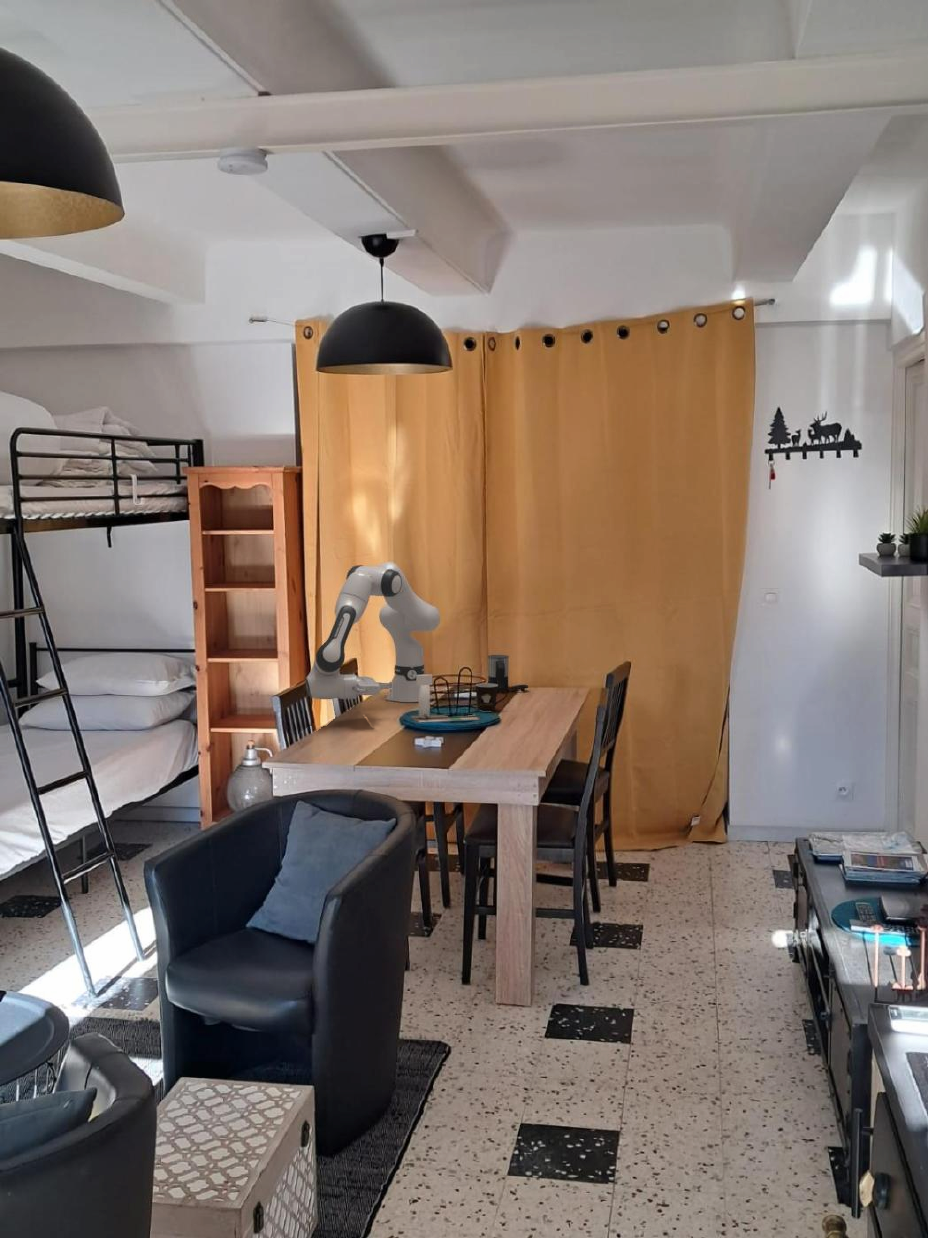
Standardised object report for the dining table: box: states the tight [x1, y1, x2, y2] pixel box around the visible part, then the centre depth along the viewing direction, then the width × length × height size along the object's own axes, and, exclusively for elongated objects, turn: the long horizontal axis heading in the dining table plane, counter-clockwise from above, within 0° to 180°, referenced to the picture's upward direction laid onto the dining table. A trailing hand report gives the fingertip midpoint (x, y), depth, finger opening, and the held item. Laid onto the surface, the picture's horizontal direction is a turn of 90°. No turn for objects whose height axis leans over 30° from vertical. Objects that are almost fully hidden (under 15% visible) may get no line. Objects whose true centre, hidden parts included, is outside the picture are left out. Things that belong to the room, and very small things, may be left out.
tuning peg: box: [416, 674, 433, 718], centre depth 436 cm, size 8×6×16 cm
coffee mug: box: [475, 682, 508, 713], centre depth 461 cm, size 12×9×10 cm
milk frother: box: [487, 654, 529, 693], centre depth 507 cm, size 14×16×15 cm
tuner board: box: [410, 713, 482, 723], centre depth 440 cm, size 12×24×2 cm, turn 103°
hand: (388, 685), depth 437 cm, fingers closed
